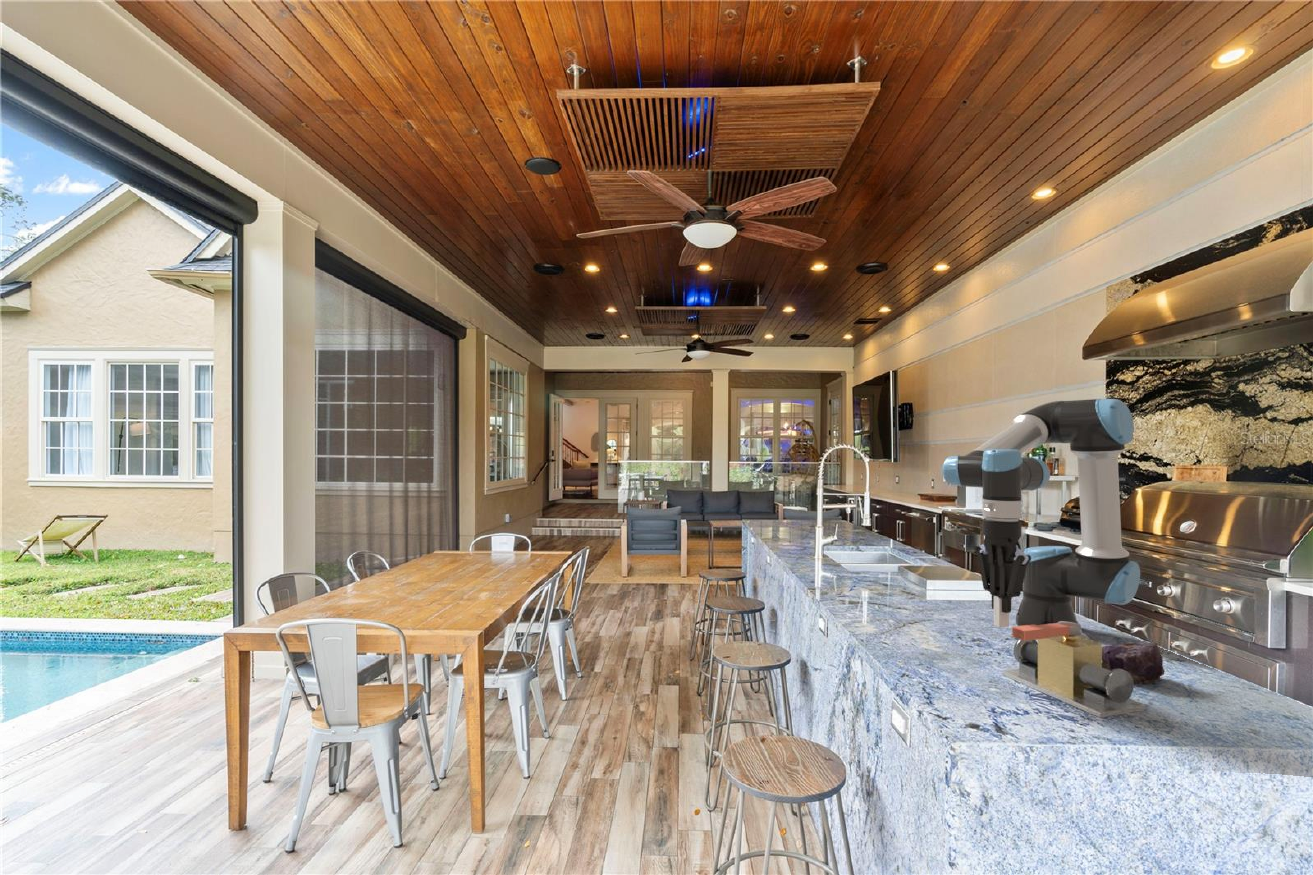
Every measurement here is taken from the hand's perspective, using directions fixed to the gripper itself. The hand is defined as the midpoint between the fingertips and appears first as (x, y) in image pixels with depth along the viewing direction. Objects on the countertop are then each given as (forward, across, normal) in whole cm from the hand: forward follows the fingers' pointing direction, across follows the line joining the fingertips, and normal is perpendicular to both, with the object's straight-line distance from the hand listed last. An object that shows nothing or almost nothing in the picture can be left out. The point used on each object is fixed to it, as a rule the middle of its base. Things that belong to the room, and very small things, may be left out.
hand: (1001, 625), depth 132 cm
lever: (0, +8, +4) cm, 9 cm away
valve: (+12, +8, +10) cm, 18 cm away
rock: (+13, +8, +30) cm, 34 cm away
